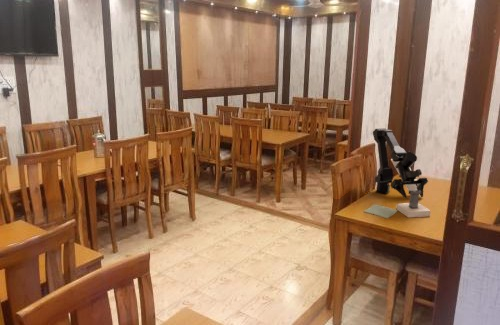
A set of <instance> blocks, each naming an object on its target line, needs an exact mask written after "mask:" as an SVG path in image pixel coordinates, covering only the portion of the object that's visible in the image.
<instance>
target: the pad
mask: <svg viewBox="0 0 500 325" xmlns="http://www.w3.org/2000/svg"><path fill="white" fill-rule="evenodd" d="M363 212H364V213H366V214H369V213H370V214H369V215H373V214H374V215H373V216H377V217H381V218H384V219H389V218H391V217H392V216H393V215H394V214H396V213H397V212H399V211H398V210H397V209H395V208H390V207H387V206H383V205H379V204H373V205H372V206H370V207H369V208H366V209H365V210H364V211H363Z"/></svg>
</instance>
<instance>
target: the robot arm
mask: <svg viewBox="0 0 500 325" xmlns="http://www.w3.org/2000/svg"><path fill="white" fill-rule="evenodd" d="M372 136H373V140H374V141H375V143H377V152H378V159H379V169H378V170H377V175H376V176H375V177H374V182H375V183H376V190H375V191H374V192H375V193H379V194H384V195H386V194H388V193H389V192H390V191H391V190H390V189H393V190H395V191H397V192H398V193H399V194H400V195H402V196H403V197H404V198H405V199H407V196H408V195H407V192H406V191H405V188H404V186H405V185H410V184H416V186H417V187H416V188H417V190H420V191H421V194H420V195H419V197H421V198H423V197H424V192H423V191H424V187H425V185H426V184H428V182H429V180H428V178H427V177H420V176H422V170H421V169H420V168H418V169H415V170H412V169H411V167H412V166H413V165H414V164H415V163H416V162H417V161H418V156H417V155H416V154H414V153H413V152H412V151H410V150H409V151H406V150H405V149H404V148H403V147H401V146H400V144H399V143H398V141H397V139H396V137H395V135H394V132H393V130H392V129H387V128H384V127H383V128H375V129H374V130H373V131H372ZM387 145H388V146H389V147H388V148H389V149H390V151H391V152H390V157H391V159H393V161H395V162H399V161H400V162H399V163H397V165H396V168H398V170H399V173H400V175H399V174H398V177H399V178H394V177H395V176H394V172H393V168H391V167H390V165H389V159H388V149H387ZM409 167H410V168H409ZM396 168H395V169H396ZM410 169H411V170H410ZM401 178H402V179H401ZM417 178H418V179H417ZM414 179H417V181H414ZM390 187H391V188H390Z"/></svg>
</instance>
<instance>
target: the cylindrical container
mask: <svg viewBox="0 0 500 325" xmlns="http://www.w3.org/2000/svg"><path fill="white" fill-rule="evenodd" d="M390 161H391V163H392V165H393V167H394V168H395V170H396V172H397V173H398V176H399V175H400V173H399V170H398V168H396V165H397V163H399V162H400V161H399V162H395V161H393V159H392V158H391V159H390ZM409 168H410V170H412V169H411V167H409ZM400 179H401V180H402V178H401V177H400ZM417 180H418V179H417V178H416V179H414V181H417ZM404 186H405V188H406V189H407V191H408V192H409V191H414V190H417V188H416V187H417V186H416V184H410V185H404ZM423 193H424V190H423ZM419 196H420V194H419Z"/></svg>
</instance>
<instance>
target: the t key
mask: <svg viewBox="0 0 500 325" xmlns="http://www.w3.org/2000/svg"><path fill="white" fill-rule="evenodd" d="M408 194H409V195H410V196H409V202H408V203H409V207H410V208H411V209H416V208H418V203H419V199H420V198H419V197H420V195H419V194H421V191H420V190H414V191H408Z"/></svg>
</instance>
